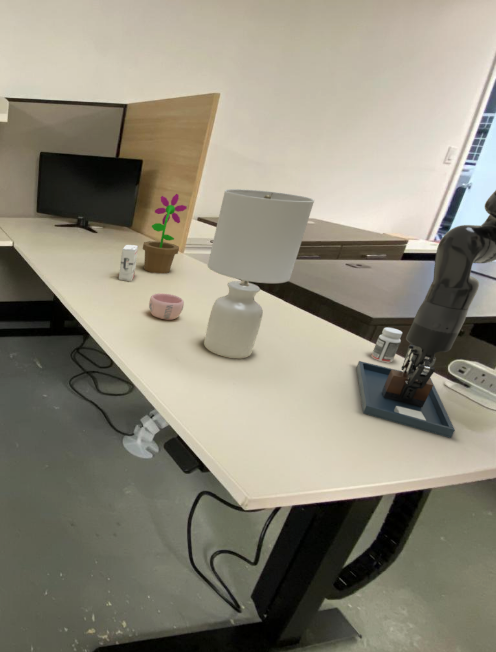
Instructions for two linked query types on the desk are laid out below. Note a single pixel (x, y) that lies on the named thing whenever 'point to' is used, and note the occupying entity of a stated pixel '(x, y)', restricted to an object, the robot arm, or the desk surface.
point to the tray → (383, 408)
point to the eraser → (396, 385)
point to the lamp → (251, 261)
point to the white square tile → (409, 412)
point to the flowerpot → (162, 252)
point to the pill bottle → (387, 345)
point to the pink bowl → (165, 306)
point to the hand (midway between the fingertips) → (403, 396)
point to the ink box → (128, 262)
